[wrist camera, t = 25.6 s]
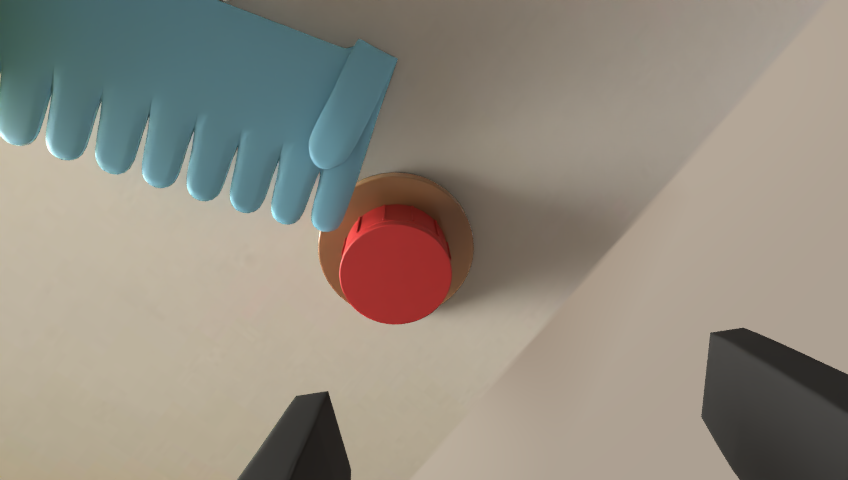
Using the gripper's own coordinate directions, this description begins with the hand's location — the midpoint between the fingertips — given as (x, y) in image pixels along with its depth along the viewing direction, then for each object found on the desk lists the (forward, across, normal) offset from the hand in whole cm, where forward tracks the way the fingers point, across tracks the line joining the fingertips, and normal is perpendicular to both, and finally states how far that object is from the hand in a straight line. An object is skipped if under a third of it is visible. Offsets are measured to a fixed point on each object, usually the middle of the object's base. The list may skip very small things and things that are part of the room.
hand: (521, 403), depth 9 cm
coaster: (+10, +3, +1) cm, 11 cm away
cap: (+8, +3, +1) cm, 9 cm away
